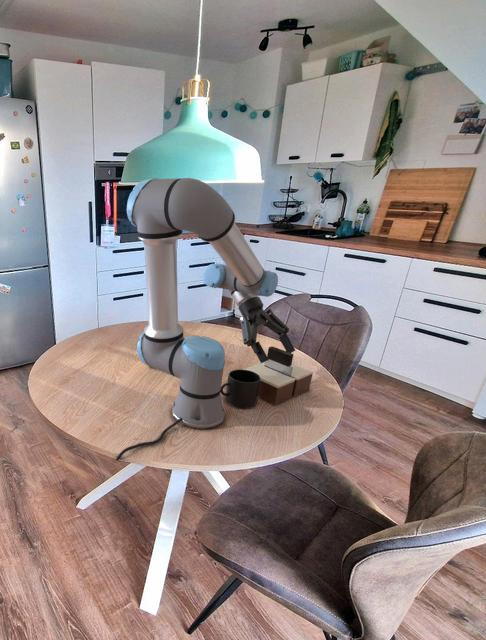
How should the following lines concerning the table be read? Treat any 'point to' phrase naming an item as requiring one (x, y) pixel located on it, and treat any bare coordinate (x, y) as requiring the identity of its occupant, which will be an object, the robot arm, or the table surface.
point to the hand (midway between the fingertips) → (278, 356)
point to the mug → (242, 388)
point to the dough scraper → (279, 361)
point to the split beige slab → (281, 383)
